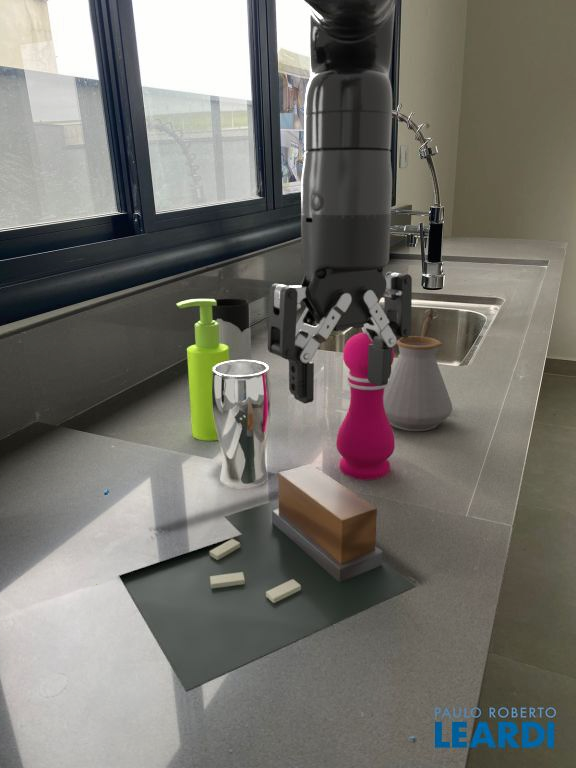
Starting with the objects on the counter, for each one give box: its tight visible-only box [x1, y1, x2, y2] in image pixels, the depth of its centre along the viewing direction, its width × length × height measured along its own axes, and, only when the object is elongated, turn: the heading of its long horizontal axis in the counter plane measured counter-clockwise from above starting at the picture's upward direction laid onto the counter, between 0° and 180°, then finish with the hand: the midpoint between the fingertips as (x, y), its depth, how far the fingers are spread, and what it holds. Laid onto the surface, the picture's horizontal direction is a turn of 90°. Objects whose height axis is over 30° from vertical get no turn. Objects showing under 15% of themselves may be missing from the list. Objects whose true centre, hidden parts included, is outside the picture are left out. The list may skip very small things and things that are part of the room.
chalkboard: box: [118, 498, 416, 692], centre depth 57 cm, size 22×20×1 cm
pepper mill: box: [335, 327, 396, 481], centre depth 73 cm, size 7×7×20 cm
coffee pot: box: [383, 307, 453, 432], centre depth 95 cm, size 21×12×15 cm, turn 160°
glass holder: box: [212, 298, 252, 361], centre depth 113 cm, size 9×14×15 cm, turn 162°
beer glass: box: [212, 359, 272, 490], centre depth 72 cm, size 7×7×15 cm
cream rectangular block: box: [210, 539, 240, 560], centre depth 59 cm, size 3×1×1 cm, turn 137°
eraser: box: [272, 463, 384, 582], centre depth 59 cm, size 5×12×6 cm, turn 32°
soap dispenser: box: [175, 298, 229, 442], centre depth 87 cm, size 6×7×20 cm
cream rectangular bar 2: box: [210, 572, 245, 588], centre depth 54 cm, size 3×1×1 cm, turn 102°
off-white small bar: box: [266, 579, 301, 603], centre depth 53 cm, size 3×1×1 cm, turn 127°
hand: (341, 391), depth 56 cm, fingers open, 8 cm apart
